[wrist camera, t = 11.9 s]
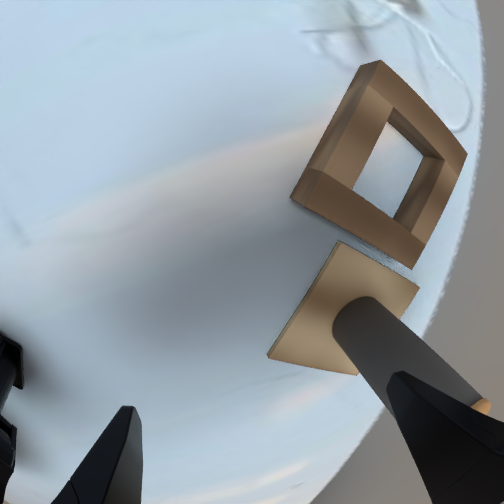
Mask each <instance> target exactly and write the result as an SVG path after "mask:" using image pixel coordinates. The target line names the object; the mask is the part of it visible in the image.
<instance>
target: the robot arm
mask: <svg viewBox="0 0 504 504" xmlns="http://www.w3.org/2000/svg"><path fill="white" fill-rule="evenodd" d="M12 386H15V387H17V388H18V389H21V390H22V389H23V387H24V378H23V360H22V348H21V347H20V346H19V345H18V344H16V343H14V342H13V341H11V340H9V339H7V338H5V337H4V336H2V335H0V413H1V411H2V409H3V406H4V404H5V401H6V399H7V397H8V395H9V392H10V390H11V388H12ZM386 393H387V396H388V398H389V401H390V404H391V407H392V410H393V413H394V416H395V419H396V421H397V424H398V426H399V428H400V430H401V433H402V435H403V437H404V439H405V441H406V443H407V445H408V447H409V450H410V452H411V454H412V457H413V459H414V461H415V463H416V466H417V468H418V470H419V472H420V475H421V477H422V479H423V481H424V484H425V486H426V489H427V491H428V494H429V496H430V498H431V501H432V503H433V504H504V422H501V421H498V420H496V419H494V418H491V417H489V416H487V415H485V414H483V413H481V412H479V411H477V410H475V409H473V408H471V407H469V406H468V405H466V404H464V403H462V402H460V401H458V400H456V399H455V398H453V397H451V396H449V395H447V394H445V393H444V392H442V391H440V390H438V389H436V388H434V387H433V386H431V385H429V384H427V383H425V382H424V381H422V380H420V379H418V378H416V377H415V376H413V375H411V374H409V373H407V372H406V371H404V370H400V371H396V372H394V373H392V375H391V377H390V379H389V382H388V384H387V386H386ZM16 434H17V428H16V427H15V426H14V425H13V424H10V423H9V422H8V421H7V420H6V419H5V418H4V417H3V416H2V415H1V414H0V504H2V503H3V500H4V495H5V489H6V486H7V483H8V480H9V478H10V477H11V475H12V473H13V472H14V467H15V451H16ZM142 474H143V452H142V424H141V420H140V417H139V415H138V413H137V411H136V408H135V407H134V406H122V407H121V408H120V409H119V411H118V412H117V413H116V415H115V416H114V417H113V419H112V420H111V422H110V423H109V424H108V426H107V427H106V429H105V430H104V431H103V433H102V434H101V436H100V437H99V438H98V440H97V441H96V443H95V444H94V445H93V447H92V448H91V450H90V451H89V452H88V454H87V455H86V457H85V458H84V459H83V461H82V462H81V464H80V465H79V466H78V468H77V469H76V471H75V472H74V474H73V475H72V476H71V478H70V480H68V482H67V483H66V485H65V486H64V488H63V489H62V490H61V492H60V493H59V494H58V496H57V497H56V498H55V499H54V500H53V502H52V503H51V504H141V491H142Z"/></svg>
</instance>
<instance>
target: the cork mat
mask: <svg viewBox="0 0 504 504" xmlns="http://www.w3.org/2000/svg"><path fill="white" fill-rule="evenodd" d="M419 289H420V287H419V286H417V285H416V284H414V283H412V282H411V281H409V280H407V279H406V278H404V277H402V276H401V275H399V274H397V273H396V272H394V271H392V270H390V269H389V268H387V267H385V266H384V265H382V264H380V263H378V262H377V261H375V260H373V259H371V258H370V257H368V256H366V255H364V254H362V253H361V252H359V251H357V250H355V249H354V248H352V247H350V246H348V245H346V244H344V243H343V242H341V241H339V240H338V242H337V244H336V246H335V247H334V249H333V251H332V252H331V254H330V256H329V257H328V259H327V261H326V263H325V264H324V266H323V268H322V269H321V271H320V273H319V274H318V276H317V277H316V279H315V281H314V282H313V284H312V286H311V287H310V289H309V290H308V292H307V294H306V295H305V297H304V298H303V300H302V302H301V303H300V305H299V306H298V308H297V309H296V311H295V313H294V314H293V316H292V317H291V319H290V320H289V322H288V323H287V325H286V326H285V328H284V329H283V331H282V332H281V334H280V336H279V337H278V338H277V340H276V341H275V343H274V344H273V346H272V347H271V349H270V350H269V352H268V353H267V356H268V358H269V359H274V360H278V361H282V362H287V363H291V364H296V365H301V366H306V367H311V368H316V369H321V370H326V371H332V372H338V373H344V374H350V375H356V376H357V375H358V374H359V371H358V369H357V368H356V367H355V365H354V364H353V363H352V361H351V360H350V359H349V358H348V356H347V355H346V354H345V352H344V351H343V350H342V348H341V347H340V346H339V344H338V343H337V342H336V341H335V339H334V337H333V334H332V328H333V323H334V321H335V318H336V317H337V315H338V314H339V312H340V311H341V310H342V309H343V308H344V307H345V306H346V305H347V304H348V303H349V302H351V301H353V300H354V299H357V298H359V297H363V296H370V297H373V298H375V299H376V300H377V301H379V302H380V303H381V304H382V305H383V306H384V307H385V308H387V309H388V310H389V311H390V312H391V313H392V314H394V315H395V316H396V317H397V318H398V319H400V318H401V316H402V315H403V313H404V312H405V310H406V309H407V307H408V306H409V304H410V303H411V301H412V300H413V298H414V297H415V295H416V293H417V292H418V290H419Z"/></svg>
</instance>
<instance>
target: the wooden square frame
mask: <svg viewBox="0 0 504 504" xmlns="http://www.w3.org/2000/svg"><path fill="white" fill-rule="evenodd" d="M386 121H388V122H389V123H390V124H391V125H392V126H393V127H394V128H395V129H397V130H398V131H399V132H400V133H401V134H402V135H403V136H404V137H405V138H406V139H407V140H408V141H409V142H410V143H411V144H412V145H413V146H414V147H415V148H416V149H417V150H418V151H419V152H420V153H421V154H422V155H423V156H424V157H423V160H422V162H421V164H420V166H419V168H418V170H417V173H416V175H415V177H414V179H413V181H412V183H411V185H410V187H409V189H408V191H407V193H406V195H405V197H404V199H403V201H402V203H401V205H400V207H399V209H398V211H397V213H396V215H395V216H394V218H393V219H392V218H390V217H389V216H388V215H386V214H385V213H384V212H382V211H381V210H380V209H378V208H377V207H375V206H374V205H373V204H371V203H370V202H368V201H367V200H365V199H364V198H363V197H361V196H360V195H358V194H357V193H355V192H354V191H352V188H353V187H354V185H355V183H356V181H357V179H358V177H359V175H360V173H361V171H362V169H363V168H364V166H365V164H366V162H367V160H368V158H369V156H370V154H371V152H372V150H373V148H374V146H375V144H376V142H377V140H378V138H379V136H380V134H381V132H382V130H383V128H384V126H385V124H386ZM466 157H467V152H466V151H465V150H464V148H463V147H462V146H461V144H460V143H459V142H458V140H457V139H456V138H455V136H454V135H453V134H452V133H451V131H450V130H449V129H448V128H447V127H446V125H445V124H444V123H443V122H442V121H441V119H440V118H439V117H438V116H437V115H436V114H435V113H434V111H433V110H432V109H431V108H430V107H429V106H428V105H427V104H426V103H425V102H424V100H423V99H422V98H421V97H420V96H419V95H418V94H417V93H416V92H415V91H414V90H413V89H412V88H411V87H410V86H409V85H408V84H407V83H406V82H405V81H404V80H403V79H402V78H401V77H400V76H399V75H397V74H396V73H395V72H394V71H393V70H392V69H391V68H390V67H389V66H388V65H386V64H385V63H384V62H383V61H382V60H378V61H374V62H371V63H367V64H364V65H361V66H360V67H359V69H358V71H357V73H356V75H355V77H354V79H353V80H352V82H351V84H350V86H349V88H348V90H347V92H346V94H345V96H344V97H343V99H342V101H341V103H340V105H339V107H338V109H337V111H336V112H335V114H334V116H333V118H332V120H331V122H330V124H329V125H328V127H327V129H326V131H325V133H324V135H323V137H322V139H321V140H320V142H319V144H318V146H317V148H316V150H315V152H314V153H313V155H312V157H311V159H310V161H309V163H308V165H307V166H306V168H305V170H304V172H303V174H302V176H301V178H300V179H299V181H298V183H297V185H296V187H295V189H294V190H293V192H292V194H291V196H290V198H292V199H293V200H295V201H297V202H298V203H300V204H301V205H303V206H305V207H307V208H308V209H310V210H312V211H314V212H316V213H317V214H319V215H321V216H323V217H325V218H326V219H328V220H330V221H332V222H333V223H335V224H337V225H339V226H340V227H342V228H344V229H345V230H347V231H349V232H351V233H352V234H354V235H356V236H357V237H359V238H361V239H362V240H364V241H366V242H367V243H369V244H371V245H372V246H374V247H376V248H377V249H379V250H381V251H382V252H384V253H385V254H387V255H389V256H390V257H392V258H393V259H395V260H397V261H398V262H400V263H401V264H403V265H404V266H406V267H408V268H409V269H411V270H412V269H413V267H414V265H415V264H416V262H417V260H418V258H419V257H420V255H421V253H422V251H423V249H424V248H425V246H426V244H427V242H428V240H429V238H430V236H431V235H432V233H433V231H434V229H435V227H436V225H437V223H438V221H439V219H440V217H441V215H442V213H443V211H444V209H445V206H446V204H447V202H448V200H449V198H450V196H451V193H452V191H453V189H454V187H455V184H456V182H457V180H458V177H459V175H460V172H461V170H462V167H463V165H464V162H465V160H466Z"/></svg>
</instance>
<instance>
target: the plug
mask: <svg viewBox="0 0 504 504" xmlns="http://www.w3.org/2000/svg"><path fill="white" fill-rule="evenodd" d="M332 334H333V337H334V339H335V341H336V342H337V343H338V344H339V346H340V347H341V348H342V350H343V351H344V352H345V354H346V355H347V356H348V358H349V359H350V360H351V361H352V363H353V364H354V365H355V367H356V368H357V369H358V371H359V372H360V373H361V375H362V376H363V377H364V378H365V380H366V381H367V382H368V384H369V385H370V386H371V388H372V389H373V390H374V392H375V393H376V394H377V396H378V397H379V398H380V400H381V401H382V402H383V404H384V405H385V406H386V408H387V409H388V410H389V411H390V413H391V414H392V415H393V417H394V418H395V416H394V413H393V410H392V407H391V404H390V401H389V398H388V396H387V393H386V386H387V384H388V382H389V379H390V377H391V375H392V373H394V372H396V371H400V370H404V371H406V372H407V373H409V374H411V375H413V376H415V377H416V378H418V379H420V380H422V381H424V382H425V383H427V384H429V385H431V386H433V387H434V388H436V389H438V390H440V391H442V392H444V393H445V394H447V395H449V396H451V397H453V398H455V399H456V400H458V401H460V402H462V403H464V404H466V405H468V406H469V407H471V408H473V409H475V410H477V411H479V412H481V413H483V414H485V415H487V414H488V412H489V411H490V409H491V406H492V404H491V403H490V402H489V401H488V400H487V399H486V398H483V397H481V395H480V394H479V393H478V392H477V391H475V389H474V388H472V386H470V385H469V384H468V383H467V382H466V381H465V380H464V379H463V378H462V377H461V376H460V375H459V374H458V373H457V372H456V371H455V370H454V369H453V368H452V367H451V366H450V365H449V364H447V363H446V362H445V361H444V360H443V359H442V358H441V357H440V356H439V355H438V354H437V353H436V352H435V351H434V350H432V349H431V348H430V347H429V346H428V345H427V344H426V343H425V342H424V341H423V340H422V339H420V338H419V337H418V336H417V335H416V334H415V333H414V332H413V331H412V330H410V329H409V328H408V327H407V326H406V325H405V324H404V323H403V322H401V321H400V320H399V319H398V318H397V317H396V316H395V315H394V314H392V313H391V312H390V311H389V310H388V309H387V308H385V307H384V306H383V305H382V304H381V303H380V302H379V301H377V300H376V299H375V298H373V297H370V296H363V297H359V298H357V299H354V300H353V301H351V302H349V303H348V304H347V305H346V306H345V307H344V308H343V309H342V310H341V311H340V312H339V314H338V315H337V317H336V318H335V321H334V323H333V328H332Z"/></svg>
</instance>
